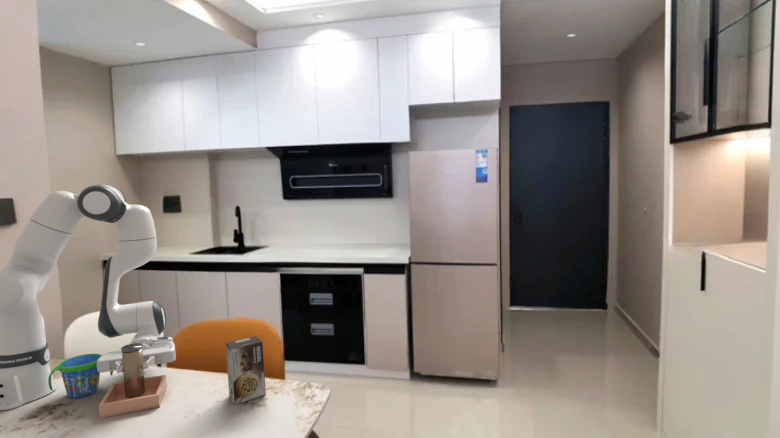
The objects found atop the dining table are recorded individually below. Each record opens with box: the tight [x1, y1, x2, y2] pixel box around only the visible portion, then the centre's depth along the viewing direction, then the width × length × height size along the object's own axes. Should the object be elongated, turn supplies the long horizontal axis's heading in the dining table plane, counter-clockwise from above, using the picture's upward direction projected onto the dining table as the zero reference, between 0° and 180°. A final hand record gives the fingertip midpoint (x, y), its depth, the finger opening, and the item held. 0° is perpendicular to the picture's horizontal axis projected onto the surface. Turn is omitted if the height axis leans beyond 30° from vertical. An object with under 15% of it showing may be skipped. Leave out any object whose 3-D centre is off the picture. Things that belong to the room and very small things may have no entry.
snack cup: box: [48, 353, 114, 399], centre depth 124 cm, size 16×10×10 cm
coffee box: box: [225, 335, 267, 405], centre depth 120 cm, size 9×6×16 cm
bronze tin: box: [120, 343, 145, 398], centre depth 119 cm, size 5×5×14 cm
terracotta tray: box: [98, 374, 168, 419], centre depth 119 cm, size 14×14×4 cm
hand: (132, 368), depth 118 cm, fingers closed on bronze tin, 5 cm apart
